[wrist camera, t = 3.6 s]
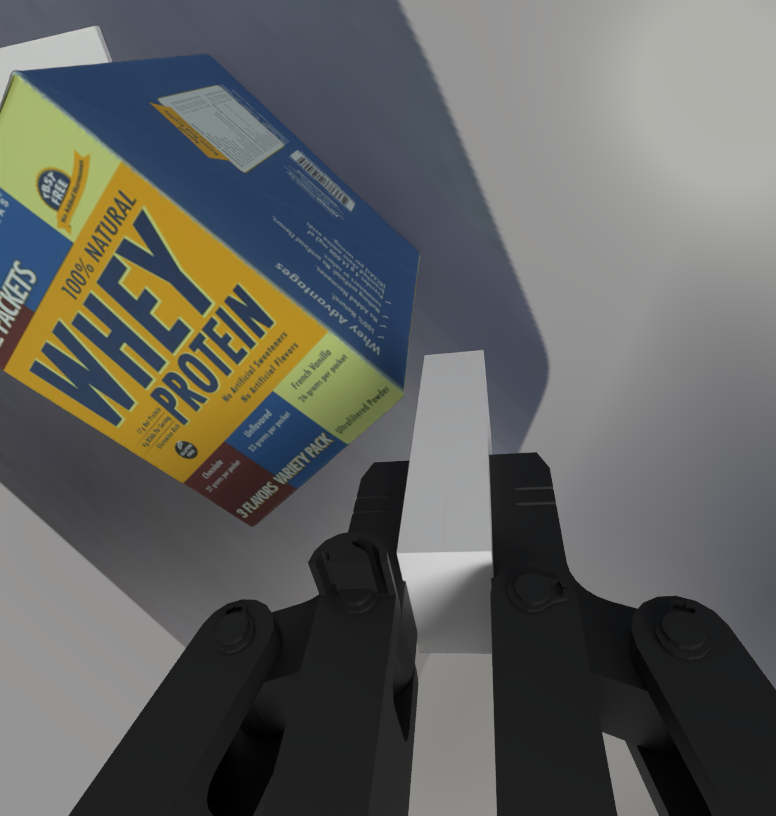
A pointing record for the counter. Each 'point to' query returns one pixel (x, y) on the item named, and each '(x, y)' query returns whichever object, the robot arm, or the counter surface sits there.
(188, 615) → the counter surface
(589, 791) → the robot arm
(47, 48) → the mat
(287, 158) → the protein box
